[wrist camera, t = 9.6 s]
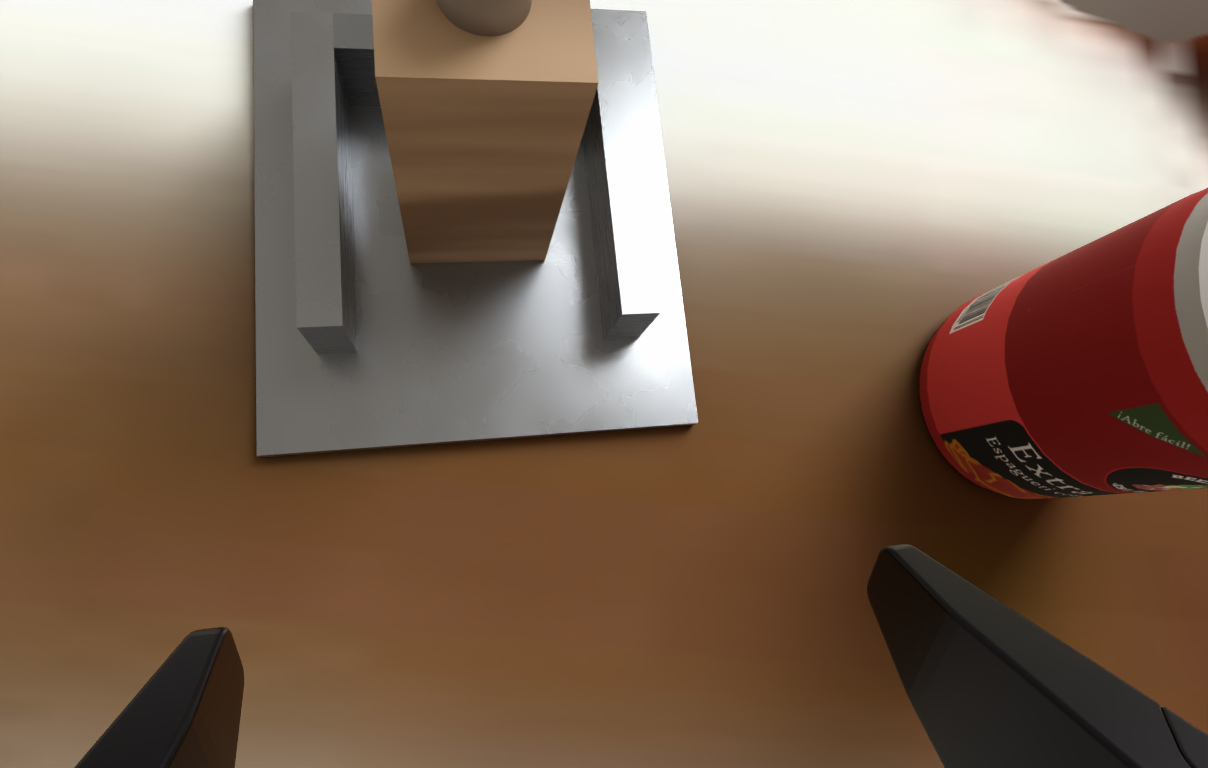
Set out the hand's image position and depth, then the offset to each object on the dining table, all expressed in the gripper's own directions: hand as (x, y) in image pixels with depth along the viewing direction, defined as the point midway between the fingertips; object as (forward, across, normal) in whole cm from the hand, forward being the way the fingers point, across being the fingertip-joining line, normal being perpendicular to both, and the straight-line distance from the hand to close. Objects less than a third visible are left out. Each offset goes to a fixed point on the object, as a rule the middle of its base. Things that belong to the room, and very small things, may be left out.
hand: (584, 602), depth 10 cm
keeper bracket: (+18, 0, +1) cm, 18 cm away
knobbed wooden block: (+18, 0, +1) cm, 18 cm away
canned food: (+13, -19, +7) cm, 24 cm away
